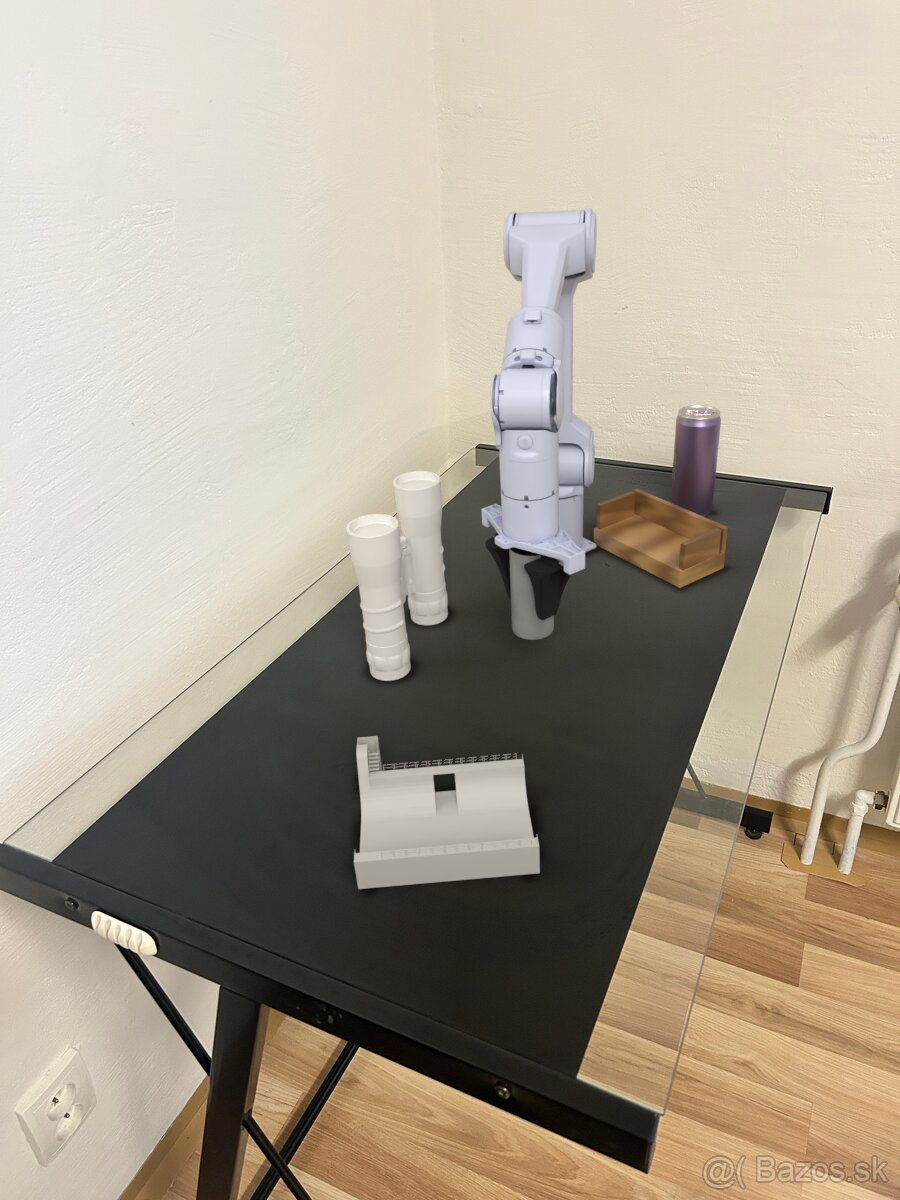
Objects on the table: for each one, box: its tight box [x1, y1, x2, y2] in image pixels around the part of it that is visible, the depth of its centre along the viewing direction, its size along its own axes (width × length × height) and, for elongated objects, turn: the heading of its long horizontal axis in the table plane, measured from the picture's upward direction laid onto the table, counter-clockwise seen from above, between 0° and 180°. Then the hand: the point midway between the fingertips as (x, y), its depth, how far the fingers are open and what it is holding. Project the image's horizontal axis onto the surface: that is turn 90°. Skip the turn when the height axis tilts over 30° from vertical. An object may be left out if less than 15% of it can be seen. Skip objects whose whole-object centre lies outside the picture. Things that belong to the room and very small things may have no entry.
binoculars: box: [345, 470, 449, 682], centre depth 99 cm, size 17×5×18 cm, turn 159°
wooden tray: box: [593, 488, 729, 589], centre depth 116 cm, size 16×8×6 cm, turn 34°
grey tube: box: [509, 547, 555, 641], centre depth 93 cm, size 4×4×10 cm
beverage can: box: [669, 404, 722, 517], centre depth 125 cm, size 6×6×15 cm
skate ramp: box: [353, 735, 541, 890], centre depth 77 cm, size 15×13×5 cm
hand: (532, 606), depth 94 cm, fingers closed on grey tube, 4 cm apart
